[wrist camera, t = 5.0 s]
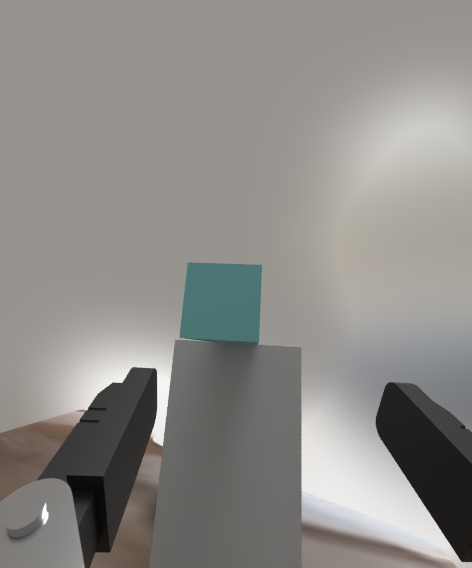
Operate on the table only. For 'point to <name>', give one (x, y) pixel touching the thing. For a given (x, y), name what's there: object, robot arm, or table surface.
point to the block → (222, 303)
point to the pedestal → (230, 459)
